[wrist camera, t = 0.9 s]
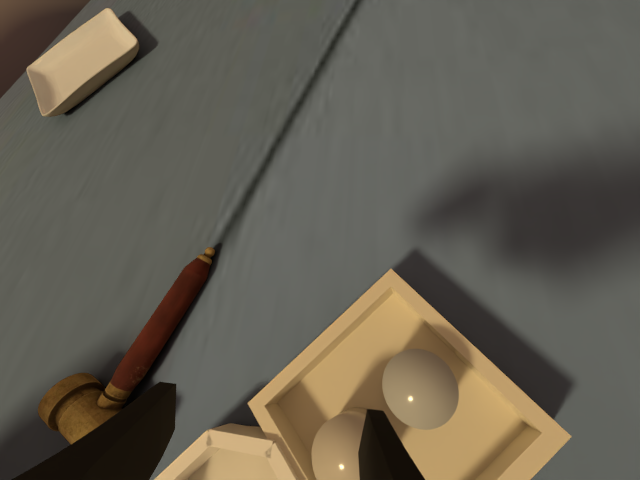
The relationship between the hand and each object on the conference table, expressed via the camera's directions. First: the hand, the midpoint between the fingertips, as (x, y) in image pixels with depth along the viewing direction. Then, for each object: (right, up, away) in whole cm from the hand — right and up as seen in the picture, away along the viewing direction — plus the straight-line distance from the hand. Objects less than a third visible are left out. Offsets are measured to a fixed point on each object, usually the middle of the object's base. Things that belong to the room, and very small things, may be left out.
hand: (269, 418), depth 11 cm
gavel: (-14, -4, +20) cm, 25 cm away
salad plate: (-43, +40, +48) cm, 76 cm away
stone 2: (+9, -4, +11) cm, 15 cm away
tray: (+7, -6, +11) cm, 15 cm away
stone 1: (+5, -8, +11) cm, 14 cm away
